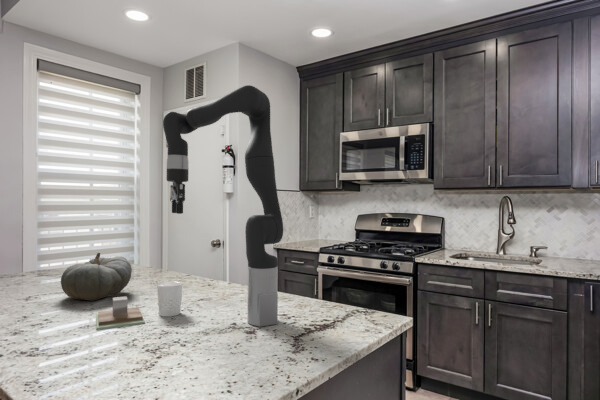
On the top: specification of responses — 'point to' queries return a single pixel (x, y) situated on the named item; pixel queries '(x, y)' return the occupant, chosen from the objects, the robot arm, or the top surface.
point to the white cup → (169, 298)
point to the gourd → (96, 278)
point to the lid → (119, 313)
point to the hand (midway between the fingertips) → (177, 213)
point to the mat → (117, 323)
